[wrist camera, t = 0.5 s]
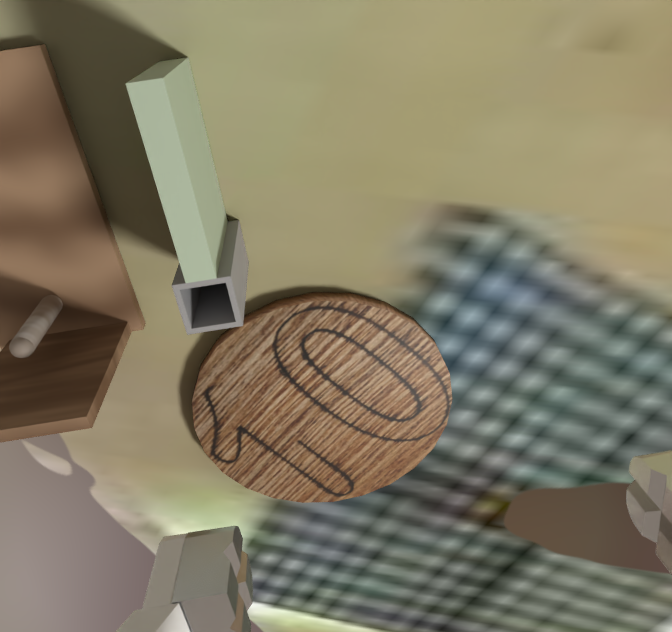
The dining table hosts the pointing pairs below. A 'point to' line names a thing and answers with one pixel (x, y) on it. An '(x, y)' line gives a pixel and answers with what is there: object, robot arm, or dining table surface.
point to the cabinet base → (53, 262)
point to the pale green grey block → (191, 198)
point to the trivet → (321, 397)
